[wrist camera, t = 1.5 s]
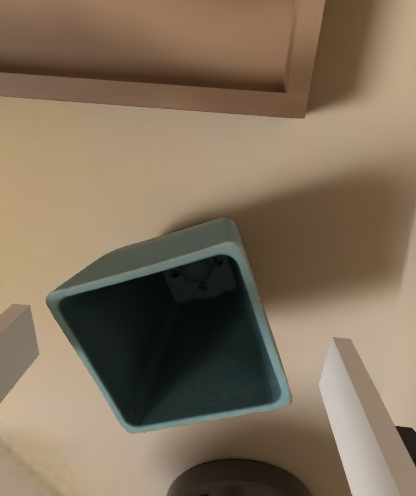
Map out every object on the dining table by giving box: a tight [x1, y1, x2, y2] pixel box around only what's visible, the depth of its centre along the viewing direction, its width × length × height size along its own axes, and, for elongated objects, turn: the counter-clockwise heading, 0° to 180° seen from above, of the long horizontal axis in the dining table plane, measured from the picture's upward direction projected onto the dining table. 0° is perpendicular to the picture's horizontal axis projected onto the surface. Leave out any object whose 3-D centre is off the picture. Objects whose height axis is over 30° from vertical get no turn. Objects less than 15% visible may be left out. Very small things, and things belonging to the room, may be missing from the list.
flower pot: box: [46, 217, 292, 434], centre depth 18 cm, size 9×9×9 cm
